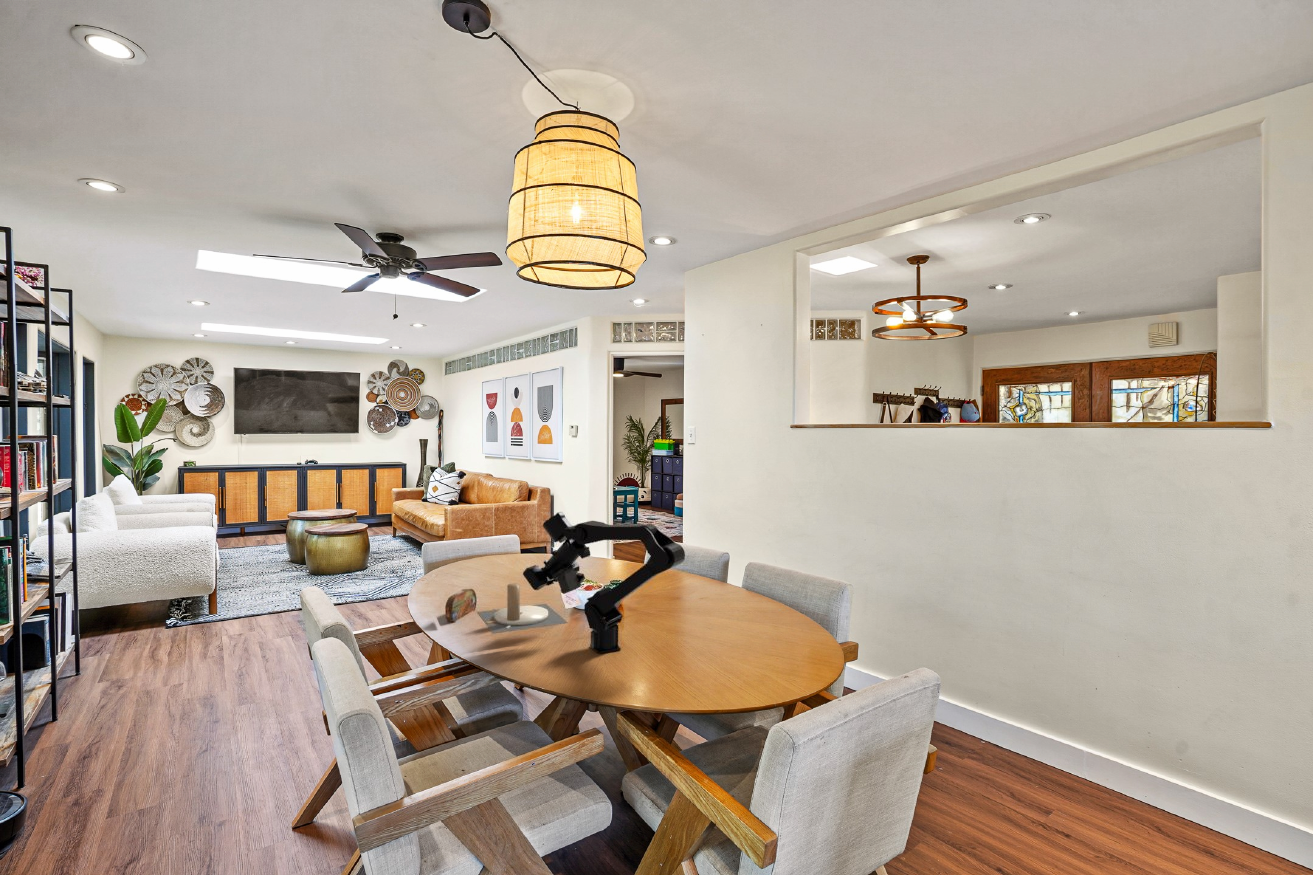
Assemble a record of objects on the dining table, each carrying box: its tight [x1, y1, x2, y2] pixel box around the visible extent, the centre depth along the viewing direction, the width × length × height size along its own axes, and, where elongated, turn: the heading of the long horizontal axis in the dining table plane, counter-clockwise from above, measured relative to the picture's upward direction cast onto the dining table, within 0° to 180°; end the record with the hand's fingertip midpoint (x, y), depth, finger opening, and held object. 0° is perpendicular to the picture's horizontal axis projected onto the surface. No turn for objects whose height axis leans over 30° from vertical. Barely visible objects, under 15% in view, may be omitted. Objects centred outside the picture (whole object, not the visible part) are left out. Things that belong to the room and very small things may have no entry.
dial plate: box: [476, 603, 569, 634], centre depth 192 cm, size 22×22×1 cm
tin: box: [444, 588, 478, 623], centre depth 193 cm, size 15×3×8 cm, turn 168°
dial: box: [494, 583, 548, 625], centre depth 192 cm, size 16×16×11 cm
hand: (536, 588), depth 181 cm, fingers closed
